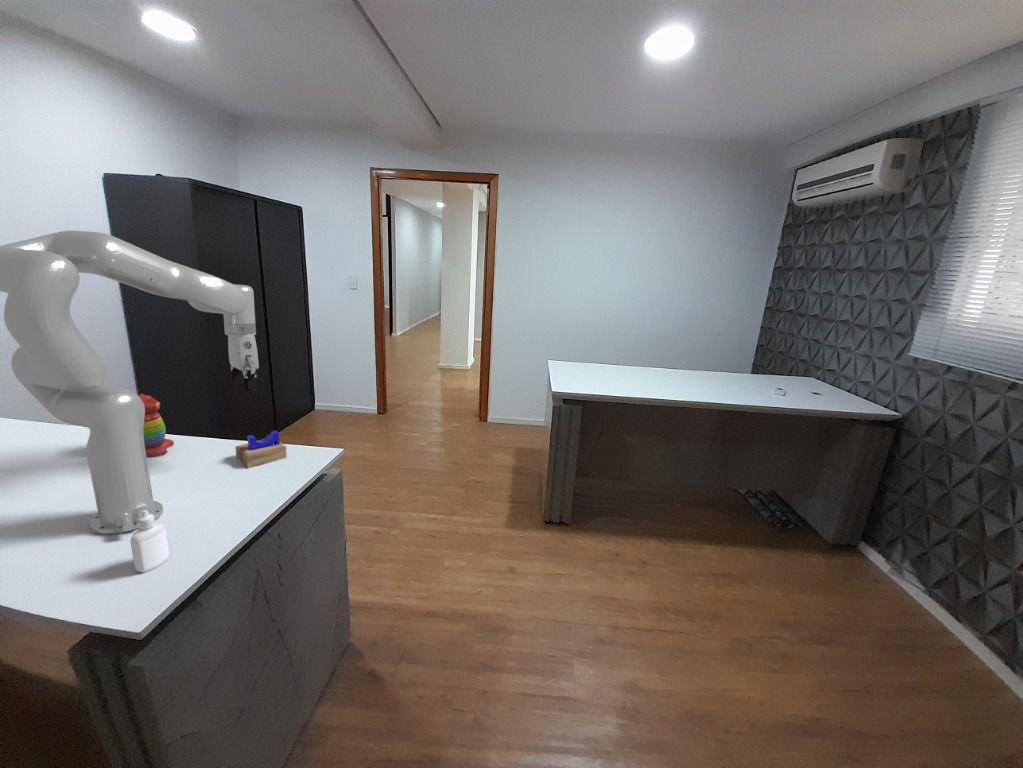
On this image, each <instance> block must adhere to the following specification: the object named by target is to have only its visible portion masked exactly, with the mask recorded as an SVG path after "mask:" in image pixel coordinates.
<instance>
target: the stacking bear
mask: <svg viewBox="0 0 1023 768" xmlns="http://www.w3.org/2000/svg"><path fill="white" fill-rule="evenodd" d="M138 396H139V397H140V398H141V400H142V401H143V403H144V407H145V417H144V426H143V434H144V444H145V451H146V457H147V458H153V457H156V458H157V457H161V456H165V455H166V454H167V453H168V450H167V449H168V448H171V447H173V446H174V445H175V442H174V440H172V439H169V438H166V433H167V432H166V431H167V430H166V425H165V422H164V420H163V418H162V417H161V414H160V413H159V412H158V410H159V409H160V407H161V403H160V402H159V401H158V400H156V398H154V397H152V396H151V395H147V394H144V393H140V394H139V395H138Z"/></svg>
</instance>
